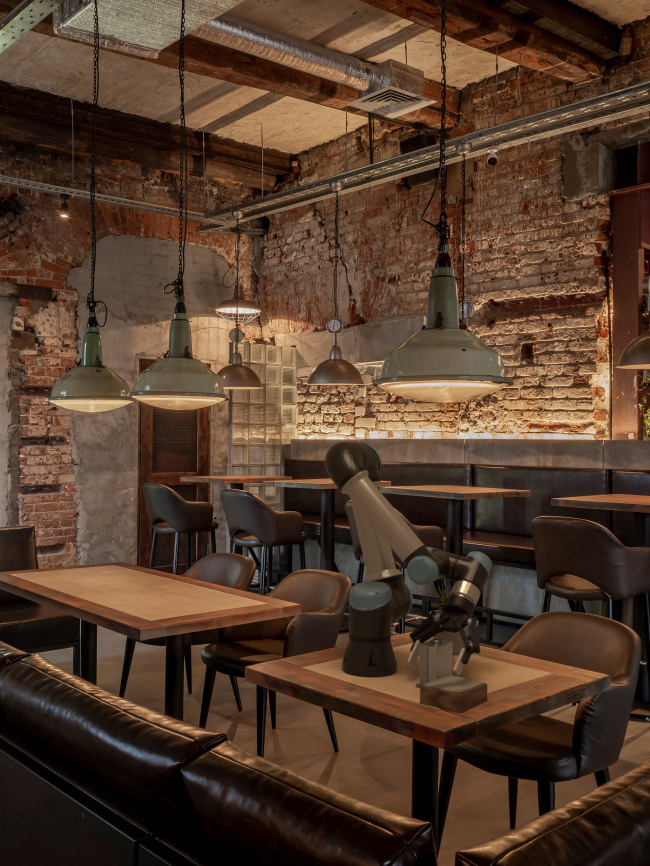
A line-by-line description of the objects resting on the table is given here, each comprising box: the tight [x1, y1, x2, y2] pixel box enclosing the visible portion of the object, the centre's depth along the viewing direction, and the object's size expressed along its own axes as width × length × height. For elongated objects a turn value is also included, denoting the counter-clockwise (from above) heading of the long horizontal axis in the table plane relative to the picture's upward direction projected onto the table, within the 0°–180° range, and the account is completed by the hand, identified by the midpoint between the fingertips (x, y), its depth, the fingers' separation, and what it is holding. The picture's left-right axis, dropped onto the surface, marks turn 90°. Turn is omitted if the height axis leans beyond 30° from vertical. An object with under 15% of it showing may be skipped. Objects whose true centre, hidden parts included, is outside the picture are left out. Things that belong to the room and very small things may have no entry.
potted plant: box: [429, 585, 472, 655], centre depth 244 cm, size 13×14×20 cm
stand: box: [419, 674, 488, 714], centre depth 193 cm, size 11×13×4 cm
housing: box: [415, 638, 454, 689], centre depth 206 cm, size 6×9×12 cm
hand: (432, 668), depth 205 cm, fingers open, 13 cm apart
